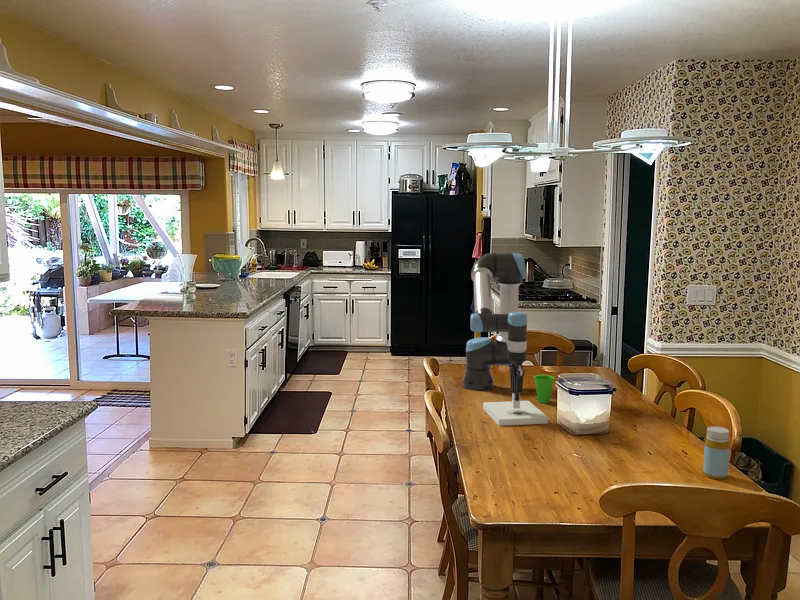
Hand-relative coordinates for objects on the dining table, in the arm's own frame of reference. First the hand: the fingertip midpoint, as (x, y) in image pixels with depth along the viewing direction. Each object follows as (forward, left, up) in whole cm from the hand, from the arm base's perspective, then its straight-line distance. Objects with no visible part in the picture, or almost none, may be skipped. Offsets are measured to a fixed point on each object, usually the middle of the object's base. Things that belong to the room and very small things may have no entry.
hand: (515, 407), depth 264 cm
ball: (+3, 0, -2) cm, 4 cm away
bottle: (+68, +43, -4) cm, 80 cm away
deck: (-2, 0, -4) cm, 4 cm away
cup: (-20, +19, -4) cm, 28 cm away
